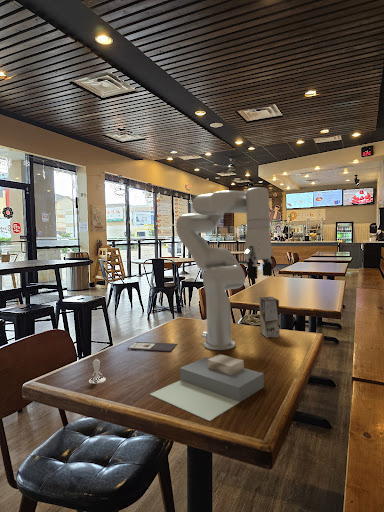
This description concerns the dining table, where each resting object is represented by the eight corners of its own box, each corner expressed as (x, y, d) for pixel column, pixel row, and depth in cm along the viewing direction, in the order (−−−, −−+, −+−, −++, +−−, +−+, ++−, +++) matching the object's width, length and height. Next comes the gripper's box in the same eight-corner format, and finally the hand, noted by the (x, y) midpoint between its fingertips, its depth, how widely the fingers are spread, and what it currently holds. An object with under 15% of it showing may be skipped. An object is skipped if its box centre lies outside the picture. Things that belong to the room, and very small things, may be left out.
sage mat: (149, 394, 96) (149, 393, 96) (180, 380, 105) (180, 380, 105) (209, 421, 81) (209, 420, 81) (239, 402, 90) (239, 401, 90)
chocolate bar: (170, 350, 132) (127, 348, 137) (170, 353, 132) (127, 351, 137) (177, 343, 141) (136, 341, 145) (177, 345, 141) (136, 344, 145)
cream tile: (207, 367, 104) (207, 359, 104) (220, 361, 109) (219, 354, 109) (231, 374, 98) (231, 366, 98) (243, 368, 103) (243, 360, 102)
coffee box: (280, 337, 146) (279, 300, 145) (265, 338, 146) (264, 300, 145) (273, 331, 155) (272, 296, 155) (259, 332, 155) (258, 297, 154)
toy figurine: (108, 376, 110) (107, 354, 110) (99, 387, 102) (98, 363, 102) (92, 376, 111) (91, 354, 110) (82, 387, 103) (80, 363, 102)
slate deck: (180, 380, 105) (179, 367, 105) (206, 369, 114) (205, 357, 114) (239, 402, 90) (238, 387, 90) (263, 387, 99) (263, 373, 98)
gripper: (261, 226, 123) (263, 274, 124) (234, 226, 110) (236, 279, 111) (280, 225, 118) (282, 274, 119) (254, 224, 105) (257, 280, 106)
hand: (260, 277), depth 115 cm, fingers open, 9 cm apart
